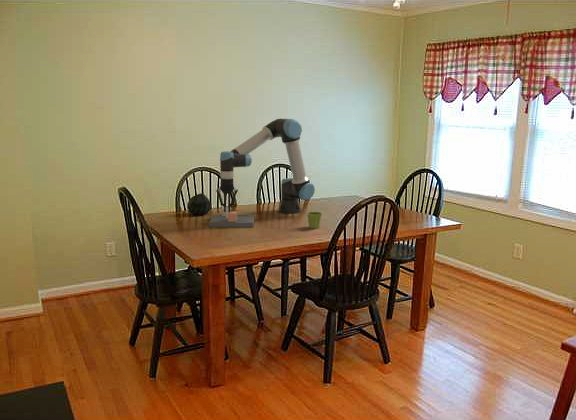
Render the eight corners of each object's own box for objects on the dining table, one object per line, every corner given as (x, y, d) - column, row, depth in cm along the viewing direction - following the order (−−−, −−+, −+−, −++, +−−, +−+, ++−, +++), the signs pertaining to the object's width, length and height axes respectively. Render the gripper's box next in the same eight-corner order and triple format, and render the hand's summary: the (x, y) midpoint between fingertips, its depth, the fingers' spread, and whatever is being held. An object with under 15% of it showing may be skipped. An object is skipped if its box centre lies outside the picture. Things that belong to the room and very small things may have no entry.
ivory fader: (230, 214, 318) (230, 206, 317) (230, 216, 312) (230, 208, 311) (222, 214, 317) (222, 206, 316) (222, 216, 312) (221, 208, 311)
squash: (184, 204, 337) (188, 189, 326) (206, 203, 343) (210, 189, 332) (187, 221, 329) (191, 207, 318) (210, 220, 335) (214, 206, 324)
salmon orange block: (237, 219, 303) (237, 211, 302) (236, 221, 298) (236, 213, 297) (228, 219, 303) (228, 211, 302) (228, 221, 297) (228, 213, 296)
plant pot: (311, 229, 295) (311, 215, 293) (303, 226, 303) (303, 212, 301) (324, 228, 299) (325, 214, 297) (316, 225, 307) (317, 211, 305)
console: (254, 218, 321) (254, 213, 321) (253, 227, 298) (253, 222, 297) (212, 218, 320) (212, 213, 319) (209, 227, 296) (209, 222, 296)
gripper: (238, 177, 299) (238, 216, 304) (216, 177, 298) (216, 215, 303) (237, 179, 292) (237, 218, 297) (215, 178, 291) (215, 218, 296)
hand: (227, 217), depth 300 cm, fingers closed
